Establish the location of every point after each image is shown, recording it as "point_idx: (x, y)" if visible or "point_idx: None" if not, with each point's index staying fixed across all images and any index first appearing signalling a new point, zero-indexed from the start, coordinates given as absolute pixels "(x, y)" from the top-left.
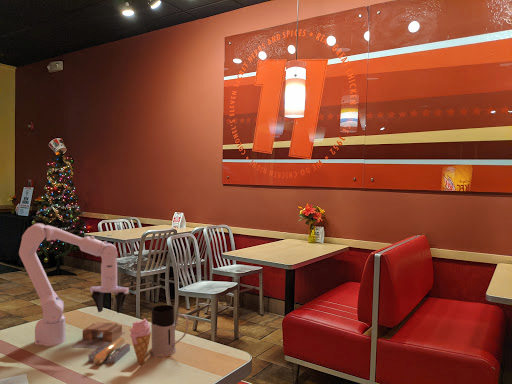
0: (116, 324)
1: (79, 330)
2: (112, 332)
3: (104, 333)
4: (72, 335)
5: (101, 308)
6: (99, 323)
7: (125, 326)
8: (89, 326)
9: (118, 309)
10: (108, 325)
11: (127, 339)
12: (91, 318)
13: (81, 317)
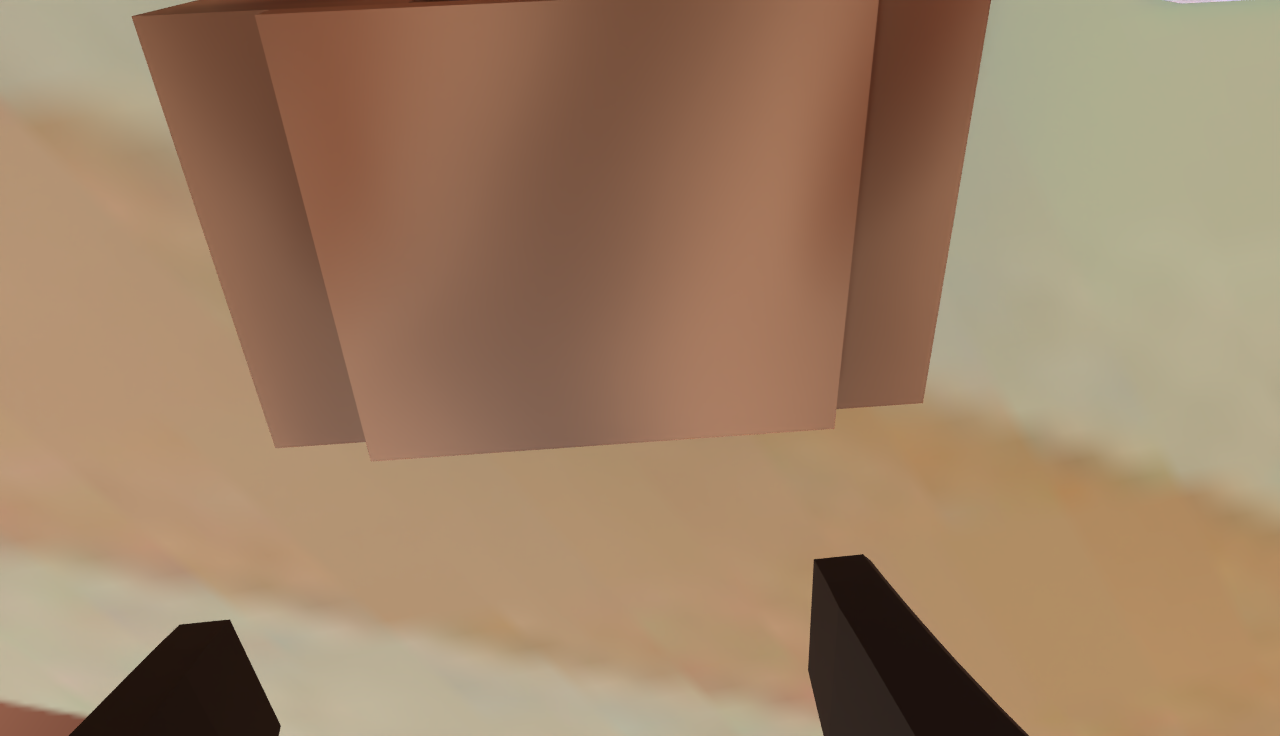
0: (366, 421)
1: (1155, 403)
2: (151, 41)
3: (371, 3)
4: (1201, 220)
5: (831, 699)
6: (753, 368)
7: (564, 631)
8: (929, 235)
9: (96, 713)
10: (468, 310)
11: (178, 266)
12: (1134, 718)
13: (1269, 715)
